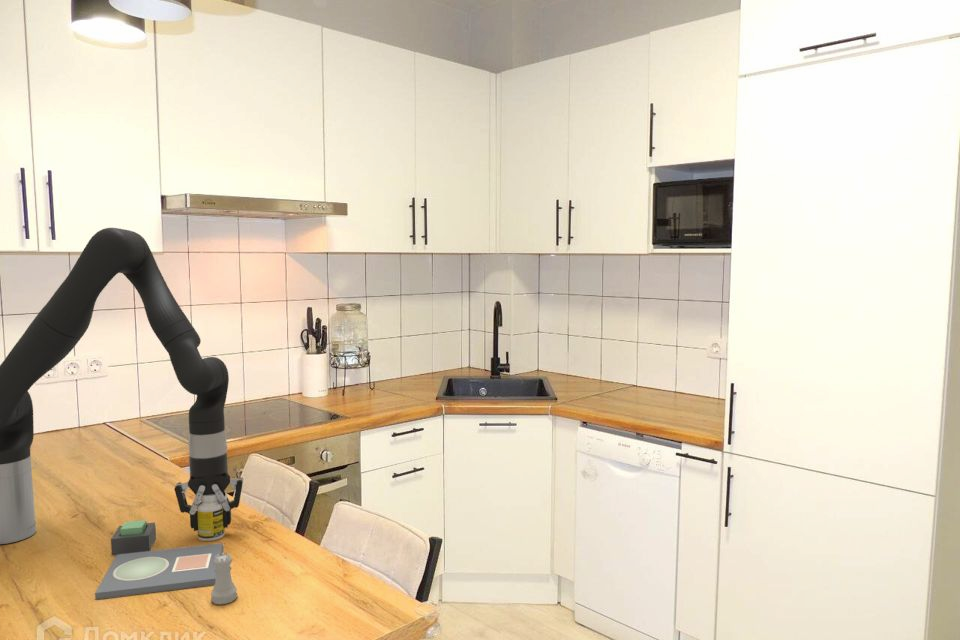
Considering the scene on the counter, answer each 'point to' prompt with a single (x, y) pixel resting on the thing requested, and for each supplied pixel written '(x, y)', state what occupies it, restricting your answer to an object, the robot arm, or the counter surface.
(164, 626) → the counter surface
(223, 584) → the rook chess piece
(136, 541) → the button housing
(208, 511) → the supplement bottle
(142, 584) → the picture board
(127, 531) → the button
